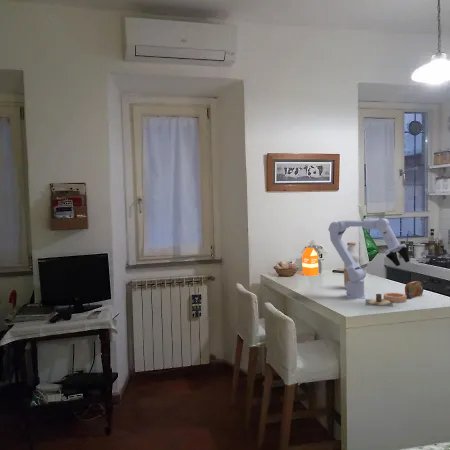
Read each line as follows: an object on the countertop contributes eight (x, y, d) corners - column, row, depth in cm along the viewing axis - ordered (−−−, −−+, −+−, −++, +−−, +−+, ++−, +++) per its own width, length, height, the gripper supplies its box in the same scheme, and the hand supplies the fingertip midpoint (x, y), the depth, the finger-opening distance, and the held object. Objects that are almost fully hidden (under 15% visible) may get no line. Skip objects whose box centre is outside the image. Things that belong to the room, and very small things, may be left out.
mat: (365, 305, 204) (365, 305, 204) (365, 300, 217) (365, 299, 216) (392, 307, 200) (392, 306, 200) (392, 301, 212) (392, 300, 212)
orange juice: (310, 275, 294) (309, 248, 293) (302, 274, 301) (301, 247, 301) (318, 274, 298) (317, 247, 297) (310, 273, 305) (309, 246, 304)
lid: (367, 304, 205) (367, 296, 205) (367, 299, 215) (367, 291, 215) (390, 305, 201) (390, 297, 201) (390, 300, 211) (389, 292, 211)
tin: (409, 299, 214) (409, 284, 213) (403, 298, 216) (403, 283, 216) (424, 295, 223) (423, 280, 222) (418, 294, 225) (418, 279, 225)
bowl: (384, 302, 210) (383, 296, 209) (383, 297, 220) (383, 292, 220) (407, 303, 206) (407, 297, 206) (405, 298, 216) (405, 293, 216)
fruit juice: (341, 288, 248) (340, 242, 247) (351, 286, 254) (350, 241, 252) (353, 290, 241) (352, 243, 239) (363, 288, 246) (362, 242, 244)
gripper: (387, 240, 202) (400, 264, 199) (405, 233, 210) (418, 257, 206) (377, 245, 208) (389, 269, 205) (395, 238, 215) (407, 262, 212)
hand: (403, 263), depth 206 cm, fingers open, 7 cm apart
